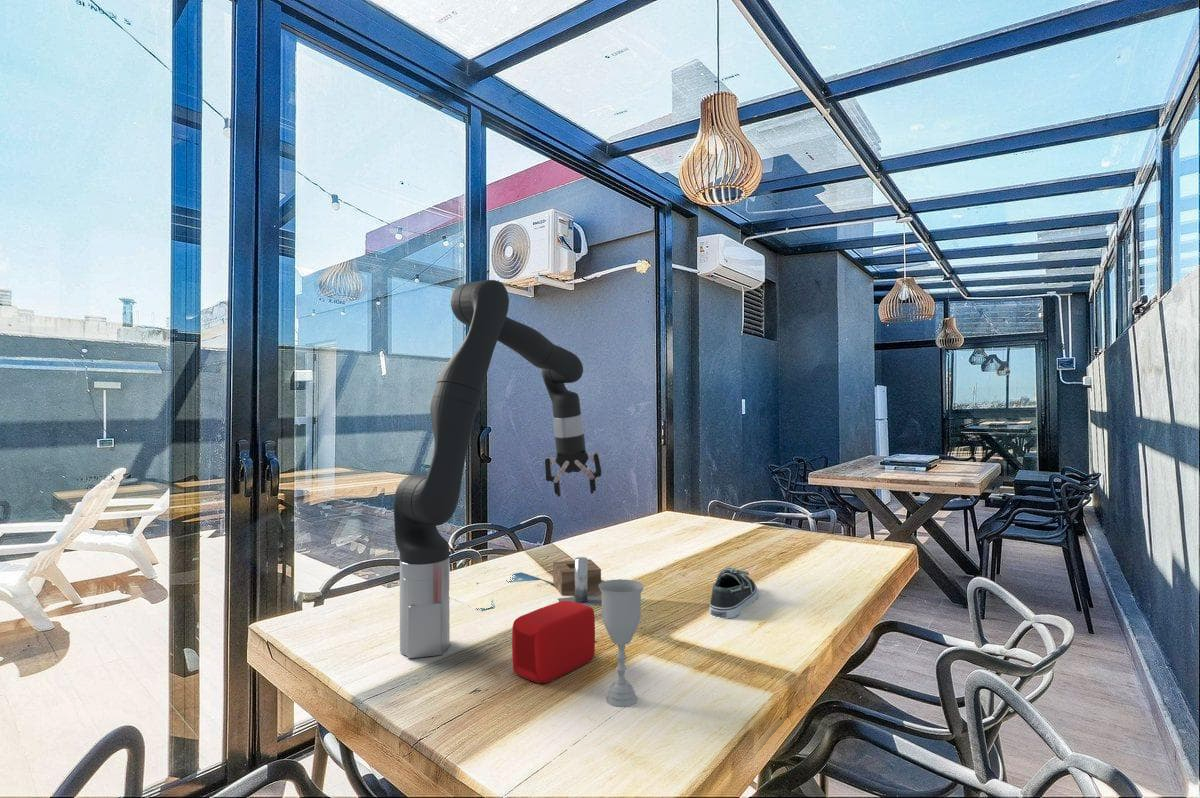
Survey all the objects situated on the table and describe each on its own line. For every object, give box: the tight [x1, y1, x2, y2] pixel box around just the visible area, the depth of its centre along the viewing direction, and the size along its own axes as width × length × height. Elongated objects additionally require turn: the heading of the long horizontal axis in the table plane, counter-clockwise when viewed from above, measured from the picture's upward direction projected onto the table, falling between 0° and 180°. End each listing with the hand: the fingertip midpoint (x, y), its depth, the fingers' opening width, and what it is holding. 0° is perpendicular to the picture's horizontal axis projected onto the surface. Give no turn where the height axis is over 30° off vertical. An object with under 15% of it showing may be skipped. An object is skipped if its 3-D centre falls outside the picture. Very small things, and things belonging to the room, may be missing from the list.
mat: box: [557, 594, 602, 607], centre depth 143 cm, size 7×10×1 cm
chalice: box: [598, 578, 645, 708], centre depth 96 cm, size 7×7×18 cm
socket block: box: [552, 558, 602, 596], centre depth 153 cm, size 10×10×6 cm
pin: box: [574, 556, 589, 603], centre depth 143 cm, size 3×3×10 cm
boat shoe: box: [708, 566, 759, 619], centre depth 143 cm, size 9×24×8 cm, turn 157°
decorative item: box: [511, 601, 596, 684], centre depth 108 cm, size 15×9×10 cm, turn 141°
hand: (576, 494), depth 156 cm, fingers open, 8 cm apart
